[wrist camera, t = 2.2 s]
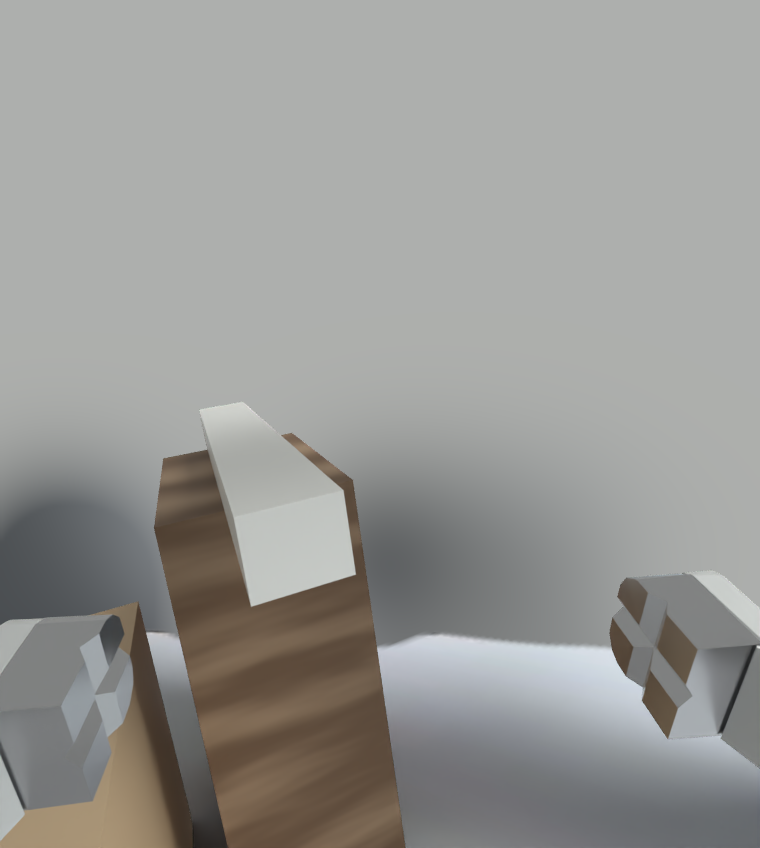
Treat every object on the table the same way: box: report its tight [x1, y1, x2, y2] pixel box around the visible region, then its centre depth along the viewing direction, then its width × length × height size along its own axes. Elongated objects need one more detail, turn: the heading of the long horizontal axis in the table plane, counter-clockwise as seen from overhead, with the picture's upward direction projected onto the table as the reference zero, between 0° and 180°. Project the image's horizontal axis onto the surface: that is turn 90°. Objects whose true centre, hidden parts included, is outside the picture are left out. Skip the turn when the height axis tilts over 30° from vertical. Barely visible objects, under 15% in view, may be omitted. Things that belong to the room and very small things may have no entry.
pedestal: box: [154, 433, 405, 848], centre depth 36 cm, size 16×10×26 cm, turn 22°
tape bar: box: [199, 402, 356, 607], centre depth 29 cm, size 28×4×3 cm, turn 22°
